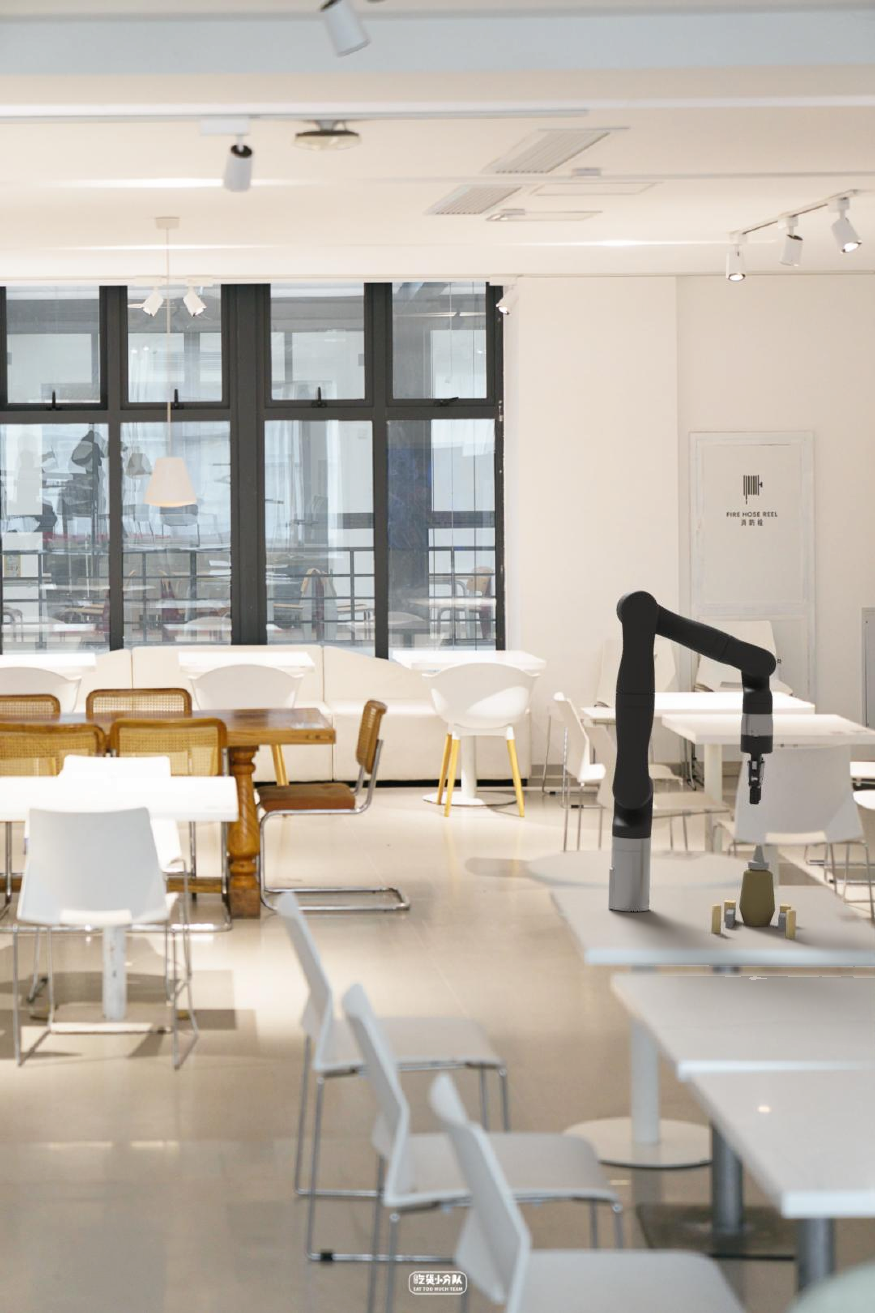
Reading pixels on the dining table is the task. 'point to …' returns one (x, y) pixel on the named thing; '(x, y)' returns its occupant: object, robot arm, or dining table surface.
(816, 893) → the dining table surface
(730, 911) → the wooden post frame
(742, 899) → the squeeze bottle
